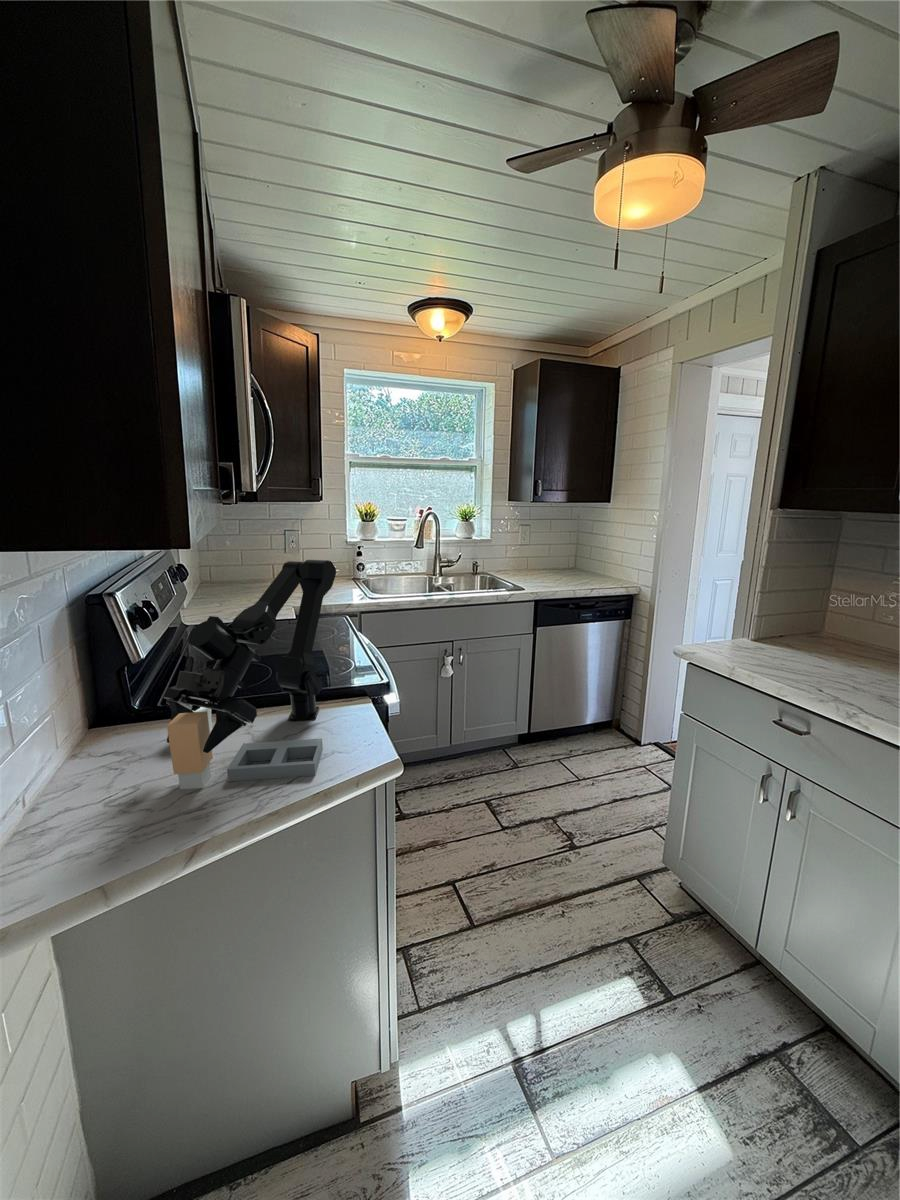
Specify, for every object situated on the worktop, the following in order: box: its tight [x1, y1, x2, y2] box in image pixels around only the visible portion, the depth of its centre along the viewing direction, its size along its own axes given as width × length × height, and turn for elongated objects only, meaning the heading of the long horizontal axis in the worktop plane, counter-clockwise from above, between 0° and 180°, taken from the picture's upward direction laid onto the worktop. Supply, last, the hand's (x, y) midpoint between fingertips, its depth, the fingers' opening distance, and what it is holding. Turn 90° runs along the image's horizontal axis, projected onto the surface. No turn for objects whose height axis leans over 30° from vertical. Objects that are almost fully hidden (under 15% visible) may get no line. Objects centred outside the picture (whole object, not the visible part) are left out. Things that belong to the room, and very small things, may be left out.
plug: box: [166, 712, 214, 790], centre depth 90 cm, size 5×5×13 cm
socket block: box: [226, 738, 324, 783], centre depth 97 cm, size 10×16×2 cm, turn 97°
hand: (186, 747), depth 88 cm, fingers open, 9 cm apart
